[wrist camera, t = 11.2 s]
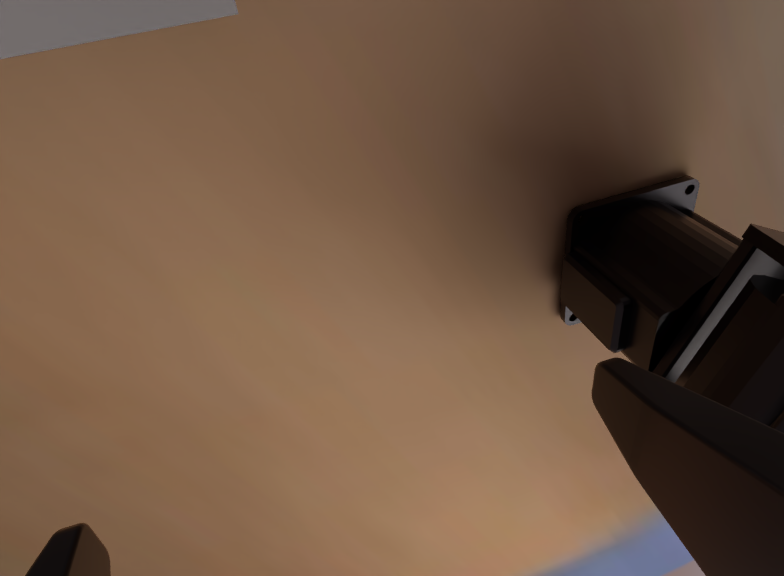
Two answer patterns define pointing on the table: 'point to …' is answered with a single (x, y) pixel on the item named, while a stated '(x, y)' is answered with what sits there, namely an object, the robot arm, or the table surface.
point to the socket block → (94, 20)
